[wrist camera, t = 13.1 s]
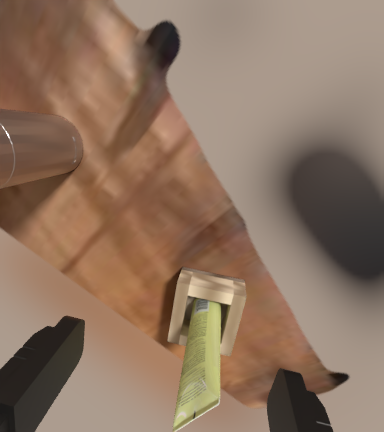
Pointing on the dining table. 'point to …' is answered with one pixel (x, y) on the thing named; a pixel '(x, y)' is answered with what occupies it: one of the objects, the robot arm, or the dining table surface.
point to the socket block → (214, 291)
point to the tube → (200, 364)
